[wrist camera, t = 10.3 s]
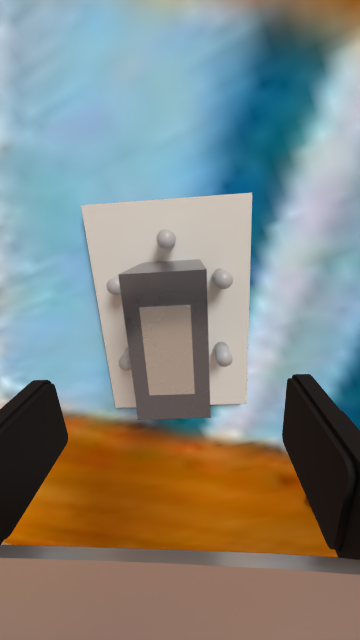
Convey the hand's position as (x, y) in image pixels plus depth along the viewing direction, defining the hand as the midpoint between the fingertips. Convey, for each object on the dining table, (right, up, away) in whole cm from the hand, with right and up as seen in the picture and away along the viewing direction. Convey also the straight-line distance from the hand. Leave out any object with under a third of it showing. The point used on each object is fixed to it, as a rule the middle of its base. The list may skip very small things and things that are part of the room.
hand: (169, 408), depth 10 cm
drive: (0, +4, +13) cm, 14 cm away
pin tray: (0, +4, +14) cm, 15 cm away
